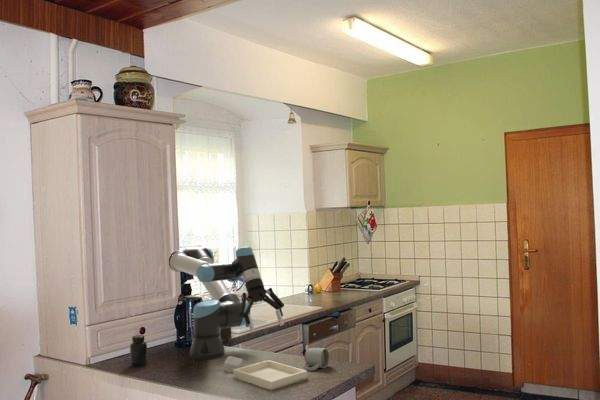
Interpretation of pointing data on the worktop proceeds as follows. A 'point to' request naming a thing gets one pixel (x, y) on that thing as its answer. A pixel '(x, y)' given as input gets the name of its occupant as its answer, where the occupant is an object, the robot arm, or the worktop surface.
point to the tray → (270, 374)
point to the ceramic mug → (316, 358)
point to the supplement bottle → (138, 351)
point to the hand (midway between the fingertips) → (267, 327)
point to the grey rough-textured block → (232, 363)
